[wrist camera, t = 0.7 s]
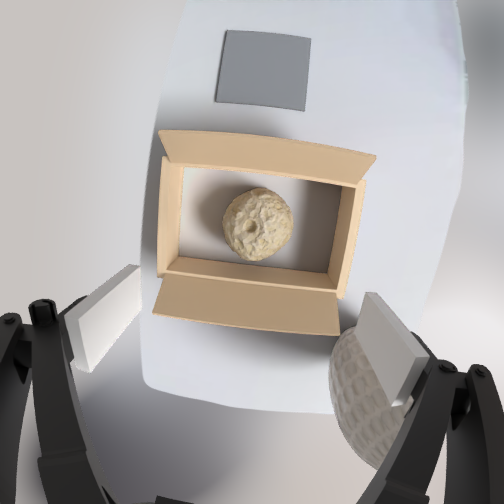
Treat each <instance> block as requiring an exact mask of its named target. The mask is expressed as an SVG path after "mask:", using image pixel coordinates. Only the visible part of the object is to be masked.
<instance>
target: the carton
mask: <svg viewBox="0 0 504 504" xmlns="http://www.w3.org/2000/svg"><path fill="white" fill-rule="evenodd" d="M158 134H159V137H160V139H161V141H162V144H163V146H164V148H165V151H166V153H167V155H168V156H162V166H161V178H160V192H159V210H158V238H157V277H158V278H164V279H163V282H162V285H161V288H160V291H159V294H158V296H157V299H156V302H155V305H154V309H153V312H152V313H153V315H159V316H165V317H170V318H176V319H182V320H188V321H195V322H202V323H208V324H215V325H223V326H231V327H239V328H247V329H256V330H265V331H276V332H287V333H299V334H312V335H328V336H340V325H339V314H338V304H337V299H343V298H344V294H345V290H346V286H347V282H348V278H349V273H350V269H351V264H352V260H353V255H354V250H355V245H356V240H357V235H358V229H359V224H360V218H361V212H362V206H363V200H364V193H365V186H366V180H363V179H361V178H362V177H363V176H364V174H365V173H366V172H367V171H368V169H369V168H370V167H371V165H372V164H373V163H374V161H375V160H376V155H372V154H367V153H363V152H358V151H354V150H349V149H344V148H339V147H334V146H329V145H323V144H317V143H311V142H305V141H299V140H292V139H285V138H277V137H269V136H260V135H251V134H240V133H228V132H213V131H191V130H159V131H158ZM184 167H191V168H206V169H218V170H229V171H240V172H249V173H259V174H267V175H275V176H283V177H290V178H298V179H304V180H311V181H318V182H324V183H330V184H336V185H341V186H342V192H341V198H340V205H339V211H338V218H337V224H336V230H335V235H334V241H333V246H332V252H331V257H330V262H329V267H328V272H327V274H326V273H317V272H308V271H299V270H290V269H281V268H272V267H264V266H255V265H247V264H238V263H230V262H221V261H213V260H205V259H197V258H189V257H181V256H179V235H180V216H181V201H182V187H183V176H184Z"/></svg>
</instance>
